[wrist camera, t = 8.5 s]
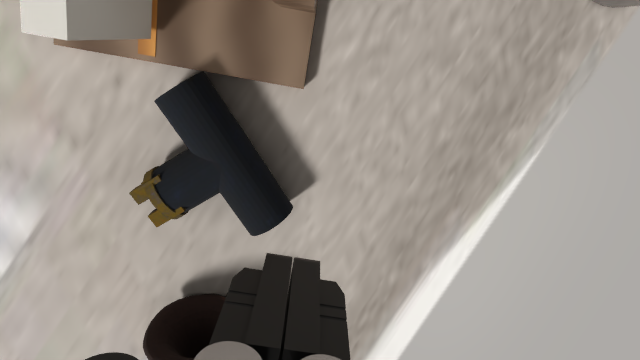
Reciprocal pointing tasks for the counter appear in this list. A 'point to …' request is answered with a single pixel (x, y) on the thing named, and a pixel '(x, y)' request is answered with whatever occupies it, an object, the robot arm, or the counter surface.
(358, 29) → the counter surface
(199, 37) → the pipe stand
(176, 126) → the pipe connector
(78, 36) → the white flat block
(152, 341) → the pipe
